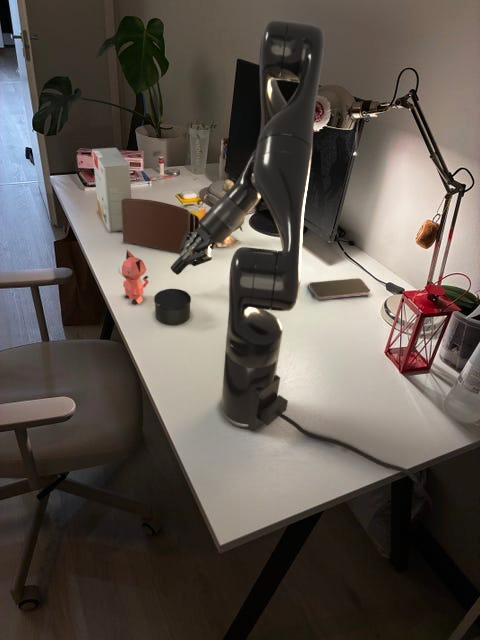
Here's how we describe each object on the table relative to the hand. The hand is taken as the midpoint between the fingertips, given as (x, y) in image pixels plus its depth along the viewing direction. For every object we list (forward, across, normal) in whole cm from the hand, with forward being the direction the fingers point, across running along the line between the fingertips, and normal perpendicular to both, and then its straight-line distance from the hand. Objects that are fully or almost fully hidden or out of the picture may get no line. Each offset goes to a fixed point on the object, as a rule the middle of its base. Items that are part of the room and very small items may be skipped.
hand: (173, 271), depth 122 cm
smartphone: (-25, +13, +33) cm, 43 cm away
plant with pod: (-13, -21, +21) cm, 33 cm away
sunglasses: (-8, -41, +16) cm, 45 cm away
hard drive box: (+7, -45, +2) cm, 45 cm away
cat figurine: (+11, 0, -2) cm, 11 cm away
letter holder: (0, -27, +8) cm, 28 cm away
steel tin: (+7, +9, +2) cm, 12 cm away
